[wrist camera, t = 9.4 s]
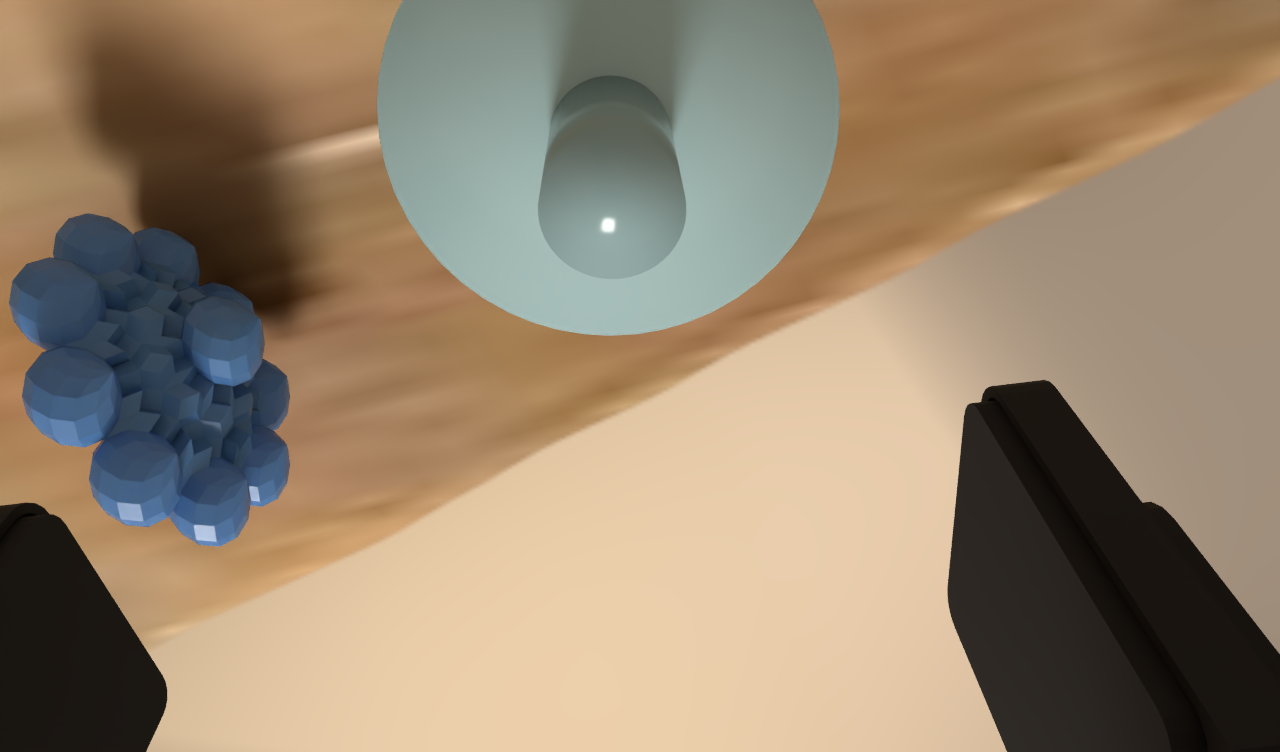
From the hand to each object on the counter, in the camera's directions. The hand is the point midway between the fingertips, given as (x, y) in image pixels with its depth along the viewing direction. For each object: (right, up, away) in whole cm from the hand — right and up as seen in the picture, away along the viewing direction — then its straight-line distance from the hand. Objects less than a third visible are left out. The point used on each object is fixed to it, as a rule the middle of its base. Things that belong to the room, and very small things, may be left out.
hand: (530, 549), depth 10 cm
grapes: (-15, +6, +27) cm, 32 cm away
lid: (0, +9, +15) cm, 17 cm away
